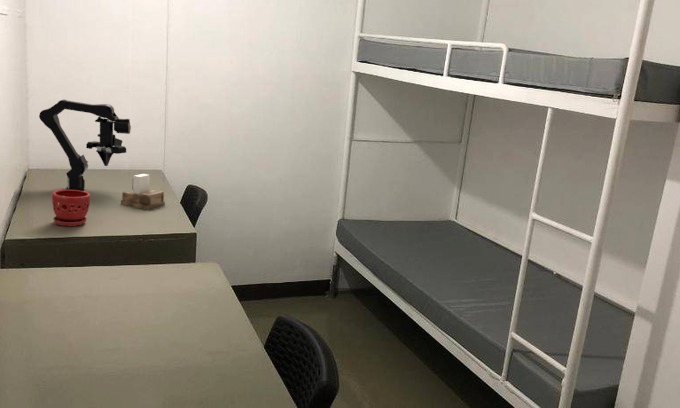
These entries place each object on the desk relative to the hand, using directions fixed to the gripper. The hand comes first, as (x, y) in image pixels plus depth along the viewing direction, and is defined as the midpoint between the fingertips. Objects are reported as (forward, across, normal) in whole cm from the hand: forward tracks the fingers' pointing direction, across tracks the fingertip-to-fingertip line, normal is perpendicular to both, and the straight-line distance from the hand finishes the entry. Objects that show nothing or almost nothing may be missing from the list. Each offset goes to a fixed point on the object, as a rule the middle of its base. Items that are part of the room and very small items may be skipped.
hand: (106, 165), depth 288 cm
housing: (+12, -26, +7) cm, 30 cm away
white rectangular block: (+10, -26, +7) cm, 28 cm away
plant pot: (+12, -27, +47) cm, 56 cm away
